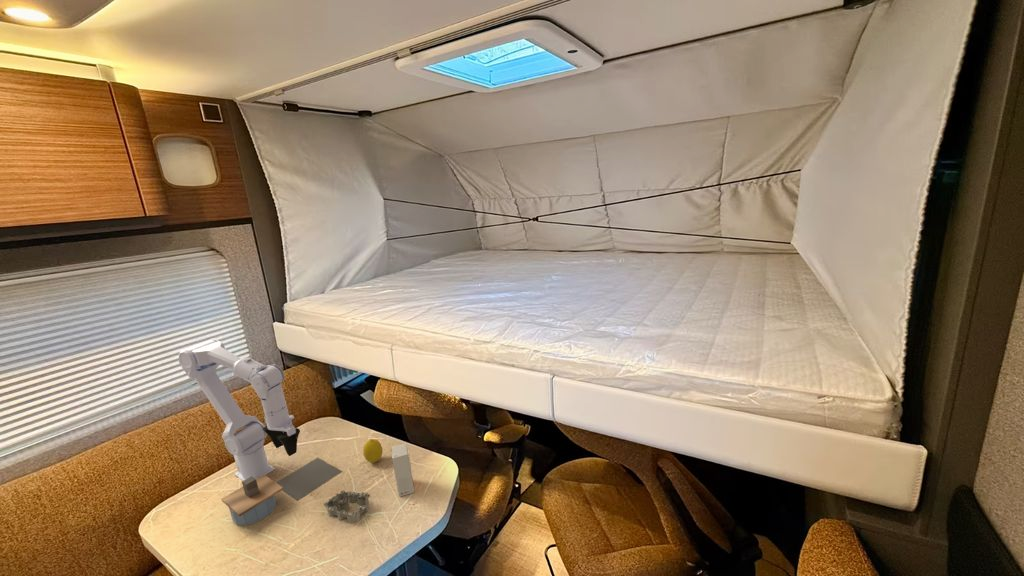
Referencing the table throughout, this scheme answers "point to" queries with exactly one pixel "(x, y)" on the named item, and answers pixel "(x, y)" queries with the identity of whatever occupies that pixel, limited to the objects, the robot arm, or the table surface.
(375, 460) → the lemon
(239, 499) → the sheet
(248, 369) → the robot arm
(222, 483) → the table surface
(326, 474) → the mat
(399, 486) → the skincare box
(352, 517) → the grey lumpy curved piece
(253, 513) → the bowl
